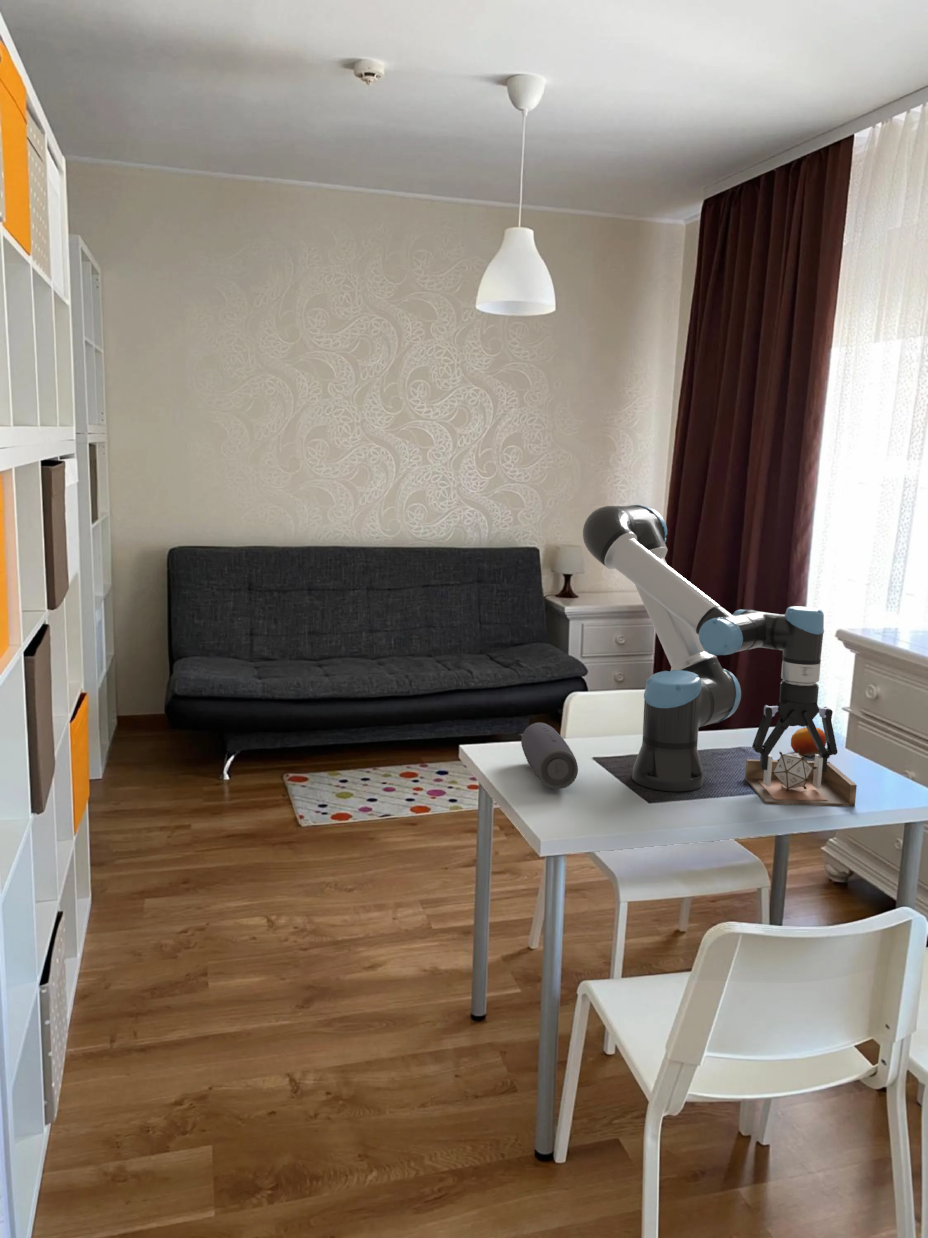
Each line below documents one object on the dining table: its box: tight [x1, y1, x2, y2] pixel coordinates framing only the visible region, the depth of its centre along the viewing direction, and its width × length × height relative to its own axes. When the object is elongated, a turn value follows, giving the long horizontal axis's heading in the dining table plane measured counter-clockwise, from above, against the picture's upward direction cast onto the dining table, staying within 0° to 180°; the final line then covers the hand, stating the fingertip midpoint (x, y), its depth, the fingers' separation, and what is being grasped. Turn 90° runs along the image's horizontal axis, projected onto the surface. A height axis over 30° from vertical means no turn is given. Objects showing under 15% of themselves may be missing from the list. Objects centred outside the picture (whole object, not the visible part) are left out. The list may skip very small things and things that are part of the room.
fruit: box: [790, 726, 827, 758], centre depth 232 cm, size 8×8×8 cm
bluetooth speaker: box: [520, 722, 579, 790], centre depth 210 cm, size 23×9×10 cm, turn 6°
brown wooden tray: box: [744, 758, 858, 807], centre depth 204 cm, size 18×16×4 cm
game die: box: [771, 750, 817, 792], centre depth 204 cm, size 9×8×10 cm
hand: (791, 785), depth 204 cm, fingers closed on game die, 10 cm apart
